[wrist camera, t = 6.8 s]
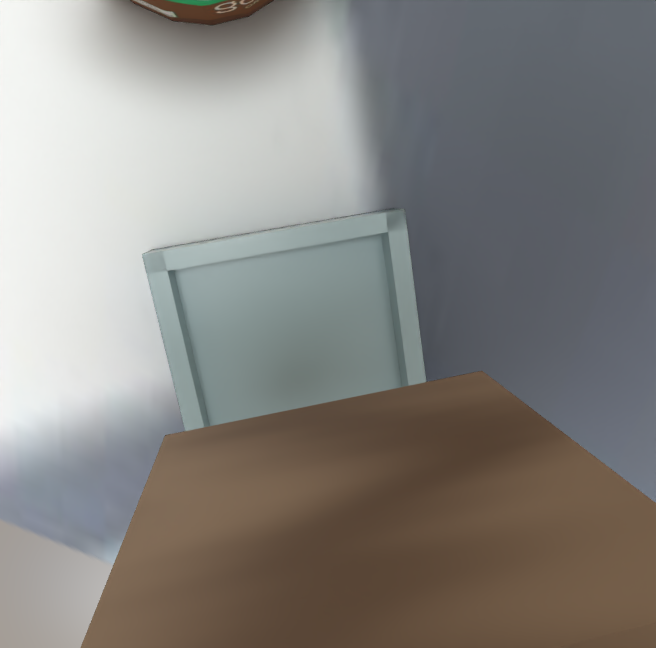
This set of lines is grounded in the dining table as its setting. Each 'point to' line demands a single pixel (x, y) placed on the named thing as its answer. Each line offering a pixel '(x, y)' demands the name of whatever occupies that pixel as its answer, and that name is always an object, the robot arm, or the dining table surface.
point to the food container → (203, 9)
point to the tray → (288, 316)
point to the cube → (384, 532)
